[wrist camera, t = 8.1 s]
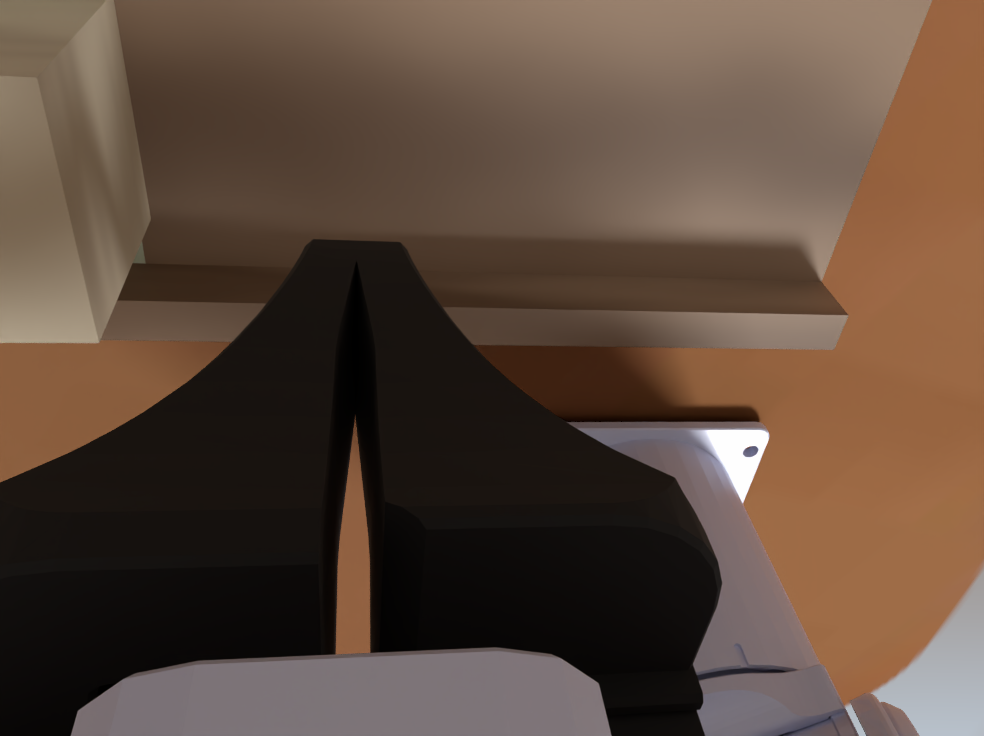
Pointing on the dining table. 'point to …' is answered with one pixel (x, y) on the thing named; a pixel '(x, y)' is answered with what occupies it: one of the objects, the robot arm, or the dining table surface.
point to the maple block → (65, 171)
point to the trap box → (512, 159)
